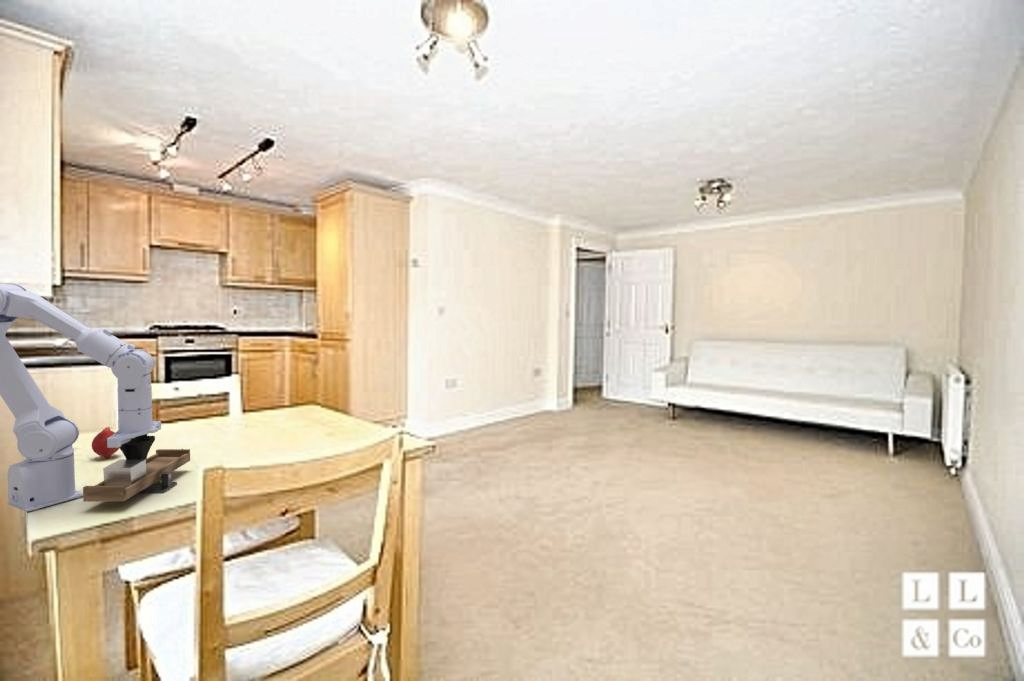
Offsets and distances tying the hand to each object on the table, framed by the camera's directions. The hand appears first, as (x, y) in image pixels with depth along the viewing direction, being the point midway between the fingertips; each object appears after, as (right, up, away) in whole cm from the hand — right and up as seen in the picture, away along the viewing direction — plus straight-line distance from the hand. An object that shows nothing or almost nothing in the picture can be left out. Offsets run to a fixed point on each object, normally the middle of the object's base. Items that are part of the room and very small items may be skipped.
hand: (137, 471), depth 107 cm
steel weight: (0, -1, -3) cm, 4 cm away
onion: (-24, -2, +22) cm, 32 cm away
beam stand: (0, -4, +2) cm, 5 cm away
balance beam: (0, -2, +2) cm, 3 cm away
